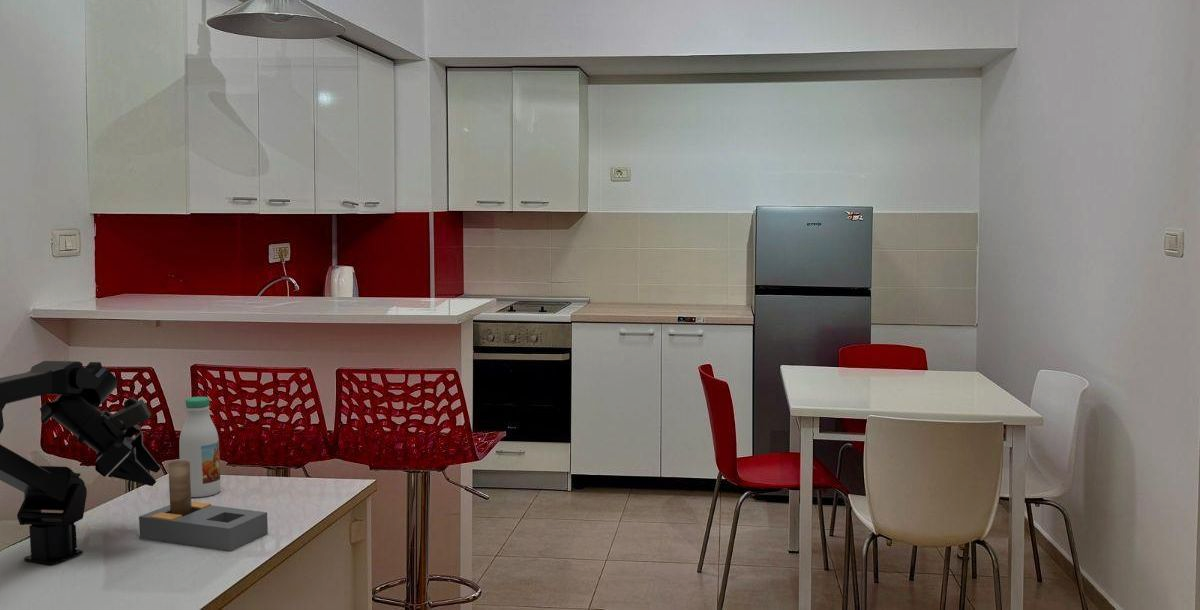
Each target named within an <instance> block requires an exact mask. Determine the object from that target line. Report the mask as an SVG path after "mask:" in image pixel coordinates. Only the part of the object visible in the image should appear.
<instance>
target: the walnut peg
mask: <svg viewBox="0 0 1200 610" xmlns="http://www.w3.org/2000/svg"><path fill="white" fill-rule="evenodd" d="M167 467H168V487H169V488H168V489H169V490H168V491H169V505H170V513H171V514H178V515H182V517H183V516H185V515H188V514H190V513H192V507H191V501H192V497H191V482H190V462H189V461H180V460H175V461H171V462H169V463H168V466H167Z"/></svg>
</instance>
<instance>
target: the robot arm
mask: <svg viewBox="0 0 1200 610" xmlns="http://www.w3.org/2000/svg"><path fill="white" fill-rule="evenodd" d="M117 385H118V379H117V376H115V374H114V373H112V371H110V370H109V369H108V368H105V367H103V365H102V362H100V361H90V362H89V363H88V364H87V365H86V366H85V368H84V366H83V363H82V362H81V361H78V360H75V361H72V360H71V361H69V360H43V361H41V362H39V363H37V364H34V365H32V367H30V370H29V371H25V372H23V373H17V374H13V375H7V376H2V377H0V434H1V433H2V432H3V430H4V426H5V424H4V416H3V415H4V414H3V410H4V408H5V406H6V405H7V404H12V403H15V402H19V401H23V400H28V399H32V398H36V397H40V396H44V395H57V397H56V398H55V399H54V400H53V401H50V402H49V401H47V402H44V404H43V405H41V407H39V411H40V414H41V415H40V422H41V424H46V423H47V422H48V421H49V420H50V419H51V418H52V419H54V420H55V421H56V422H57V423H59V424H60V425H62V426H63V427H64V428H65V429H67V430H68V431H69V432H71V433H72V434H73V435H74V436H76V437H77V438H76V441H77V443H79V444H82V443H84V444H86V445H87V446H89V447H90V448H91V449H92V450H93V451H95V452H96V453H95V457H97V459H96V461H95V463H94V465H95V467H94V468H95V471H96V472H97V473H99V474H100V475H101V476H103V478H105V477H108V478H116V479H119V480H124V481H129V482H133V483H137V484H141V485H145V486H149V487H150V486H151V487H153V486H154V485H155V484H156V483H157V480H156V479H155V477H154V476H153V475H152V474H151V473H150V472H149V471H151V472H152V473H153V472H154V473H158V472H159V471H160V470H161V466H160V464H159V463H158V462H157V461H156V460H155V458H154V457H153V455H152V454H151V453H150V452H149V450H148V449H147V447H146V446H145V445H144V432H143V430H141V429H142V427H141V426H140V425H139V424H142V423H145V422H147V421H149V420H150V419H151V418H150V417H151V416H152V414H151V412H150V410H149V408H148V407H147V406H148V405H147V402H144V400H143V399H139V400H138V399H136V398H134V397H133V396H132V397H129V398H128V399H125V400H124V402H123V408H121V409H119V410H118V411H116V412H115V413H111V412H110V411H109V410H108V409H107V410H102V411H101V409H99V408H98V407H100V406H101V405H102V404H103V403H104V402H105V400H106V399H107V398H108V397H109V396H110V395H111V394H112V393H113V392H114V391H115V390H116V388H117ZM136 434H137V435H136ZM80 476H81V472H80V473H79V472H74V471H73V469H71V468H70V467H67V466H57V465H53V466H52V465H38V464H36V463H34V462H33V461H31V460H29V459H27V458H25V457H23V456H22V455H20V454H18V453H16V452H15V451H14V450H11V449H9V448H8V447H6V446H4V445H3V444H1V443H0V481H1V482H2V483H5V484H6V485H9V486H10V487H12V488H14V489H17V490H19V491H20V492H23V493H24V494H23V501H22V504H21V505H20V508H19V510H18V512H17V515H16V518H17V521H18V523H19V525H20V526H27V525H29V527H28V530H29V544H30V545H29V546H30V554H29V555H26V556H24V557H23V560H24V561H26V562H31V563H37V564H44V565H51V566H52V565H57V564H58V563H61V562H63V561H66V560H69V559H71V558H73V557H77V556H79V555H81V554H83V553H84V552H83V549H78V548H77V547H78V543H77V542H78V540H77V526H76V524H75V523H77V522H79V521H81V520H82V519H84V514H85V507H86V502H87V495H88V491H87V487H86V485H85V481H84V480H83V479H82V477H80ZM43 511H54V512H43ZM55 511H57V512H55Z"/></svg>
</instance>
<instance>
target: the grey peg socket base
mask: <svg viewBox="0 0 1200 610" xmlns="http://www.w3.org/2000/svg"><path fill="white" fill-rule="evenodd" d="M191 507H192V513H190V514H188V515H185V516H183V517H182V515H178V514H171V513H170V504H168V505H165V506H163V507H161V508H160V507H159V508H158V509H155V510H153V511H150V512H147V513H145V514H142V515H139V516H138V527H139V530H138V531H139V539H142V540H143V539H144V540H150V541H151V540H152V541H158V542H165V543H173V544H178V545H183V546H184V545H186V546H193V547H199V548H207V549H213V550H219V551H228V552H232V551H234V550H237V549H238V548H240V547H242V546H245V545H246V544H249V543H252V542H253V541H255V540H258V539H260V538H262V537H264V536H266V535H268V534H269V530H268V529H269V527H268V524H269V523H268V512H267V511H260V510H252V509H243V508H235V507H230V506H229V507H227V506H219V505H214V504H213V505H212V503H209V502H201V501H200V502H199V501H193V500H191Z"/></svg>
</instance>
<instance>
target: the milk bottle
mask: <svg viewBox="0 0 1200 610" xmlns="http://www.w3.org/2000/svg"><path fill="white" fill-rule="evenodd" d="M210 403H211V402H210V398H209V397H208V396H192V397H187V398H186V399H185V407H186V408H185V410H186V412H187V414H186V418H185V421H184V424H183V426H182V429H181V431H180V433H179V434H180V435H179V440H178V441H179V445H178V446H179V449H178V451H179V453H178V454H179V461H189V462H190V482H191V498H203V497H204V498H205V497H209V496H213V495H216V494H218V493H220V491H221V488H222V487H221V481H222V480H221V461H220V457H221V456H220V442H219V441H220V439H219V434H218V430H217V427H216V426H215V424H214V422H213V420H212V418H211V415H210V411H209V410H210V408H211V407H210Z"/></svg>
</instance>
